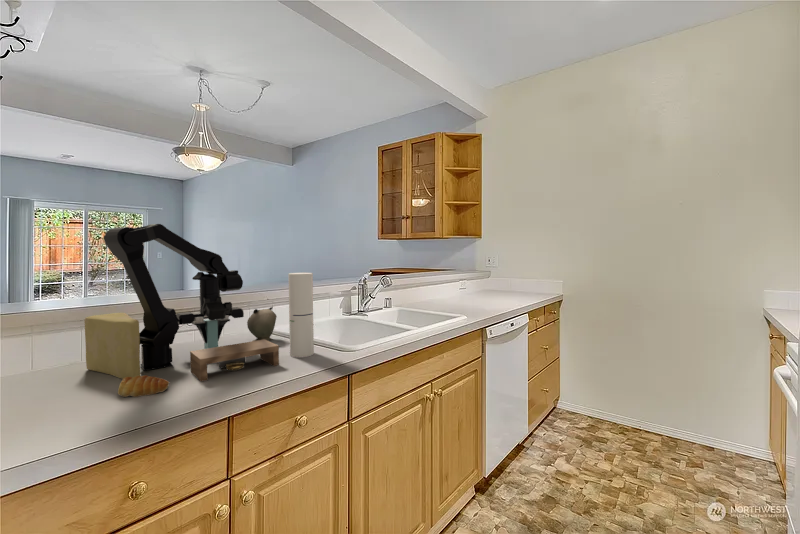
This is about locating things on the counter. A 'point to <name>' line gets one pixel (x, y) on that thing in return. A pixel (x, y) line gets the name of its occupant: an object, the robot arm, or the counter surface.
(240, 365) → the brass puck
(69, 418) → the counter surface
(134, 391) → the pastry
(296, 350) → the cylindrical container
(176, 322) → the robot arm
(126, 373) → the cheese
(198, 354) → the walnut shelf
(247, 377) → the counter surface
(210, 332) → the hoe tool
